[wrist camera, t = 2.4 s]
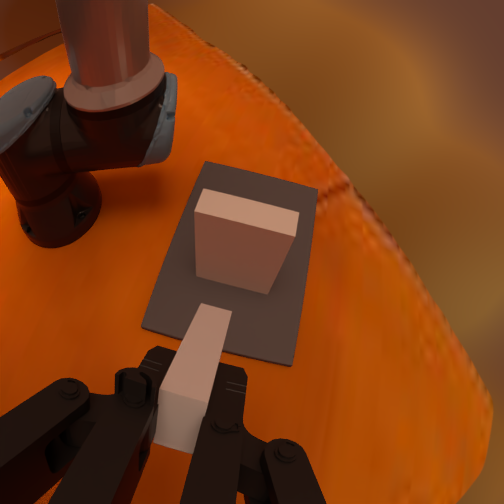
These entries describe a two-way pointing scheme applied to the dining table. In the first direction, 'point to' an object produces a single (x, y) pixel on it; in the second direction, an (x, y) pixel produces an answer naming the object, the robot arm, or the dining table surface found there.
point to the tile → (241, 240)
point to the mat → (230, 297)
